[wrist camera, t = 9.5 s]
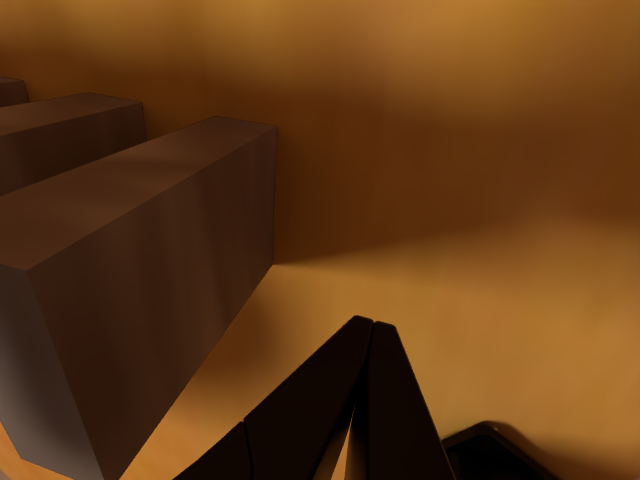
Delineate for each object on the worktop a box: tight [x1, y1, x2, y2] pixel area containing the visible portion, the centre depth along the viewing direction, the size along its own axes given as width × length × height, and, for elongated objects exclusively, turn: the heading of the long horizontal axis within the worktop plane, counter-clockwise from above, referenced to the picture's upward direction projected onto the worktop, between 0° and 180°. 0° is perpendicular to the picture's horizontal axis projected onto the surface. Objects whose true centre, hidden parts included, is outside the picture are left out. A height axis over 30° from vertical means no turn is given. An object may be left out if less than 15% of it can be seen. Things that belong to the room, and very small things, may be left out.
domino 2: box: [0, 116, 276, 480], centre depth 9 cm, size 2×5×8 cm, turn 175°
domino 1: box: [0, 93, 147, 196], centre depth 10 cm, size 2×5×8 cm, turn 174°
